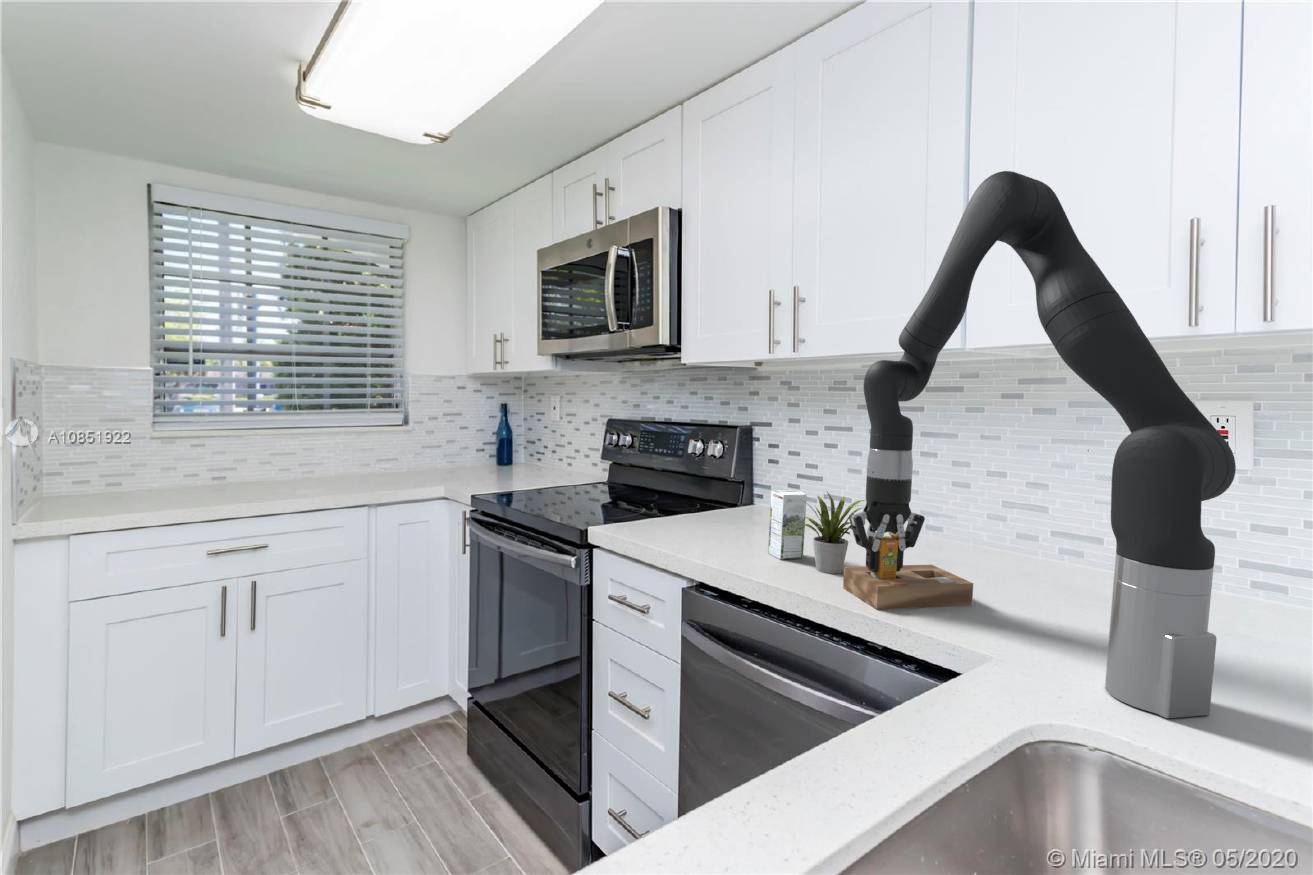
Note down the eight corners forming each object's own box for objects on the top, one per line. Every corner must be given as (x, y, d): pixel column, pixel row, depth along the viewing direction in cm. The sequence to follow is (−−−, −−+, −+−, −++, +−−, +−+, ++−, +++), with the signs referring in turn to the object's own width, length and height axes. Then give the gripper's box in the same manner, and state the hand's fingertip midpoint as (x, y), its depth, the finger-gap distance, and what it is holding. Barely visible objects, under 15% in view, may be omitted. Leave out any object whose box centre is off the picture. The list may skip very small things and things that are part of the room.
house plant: (886, 573, 131) (890, 493, 129) (845, 585, 122) (849, 499, 121) (827, 558, 142) (831, 484, 141) (786, 567, 133) (789, 489, 132)
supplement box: (879, 596, 113) (881, 540, 112) (869, 590, 116) (871, 535, 116) (896, 595, 114) (898, 539, 113) (885, 589, 117) (887, 535, 117)
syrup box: (790, 552, 146) (793, 488, 145) (804, 559, 141) (807, 493, 139) (767, 553, 144) (770, 489, 143) (780, 560, 139) (783, 493, 138)
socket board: (971, 605, 112) (973, 582, 112) (876, 609, 109) (878, 585, 108) (930, 585, 124) (931, 563, 123) (843, 587, 120) (844, 565, 120)
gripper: (862, 477, 109) (857, 578, 110) (938, 477, 111) (932, 575, 113) (841, 472, 116) (837, 566, 117) (913, 472, 119) (908, 564, 120)
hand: (884, 570), depth 115 cm, fingers open, 3 cm apart
